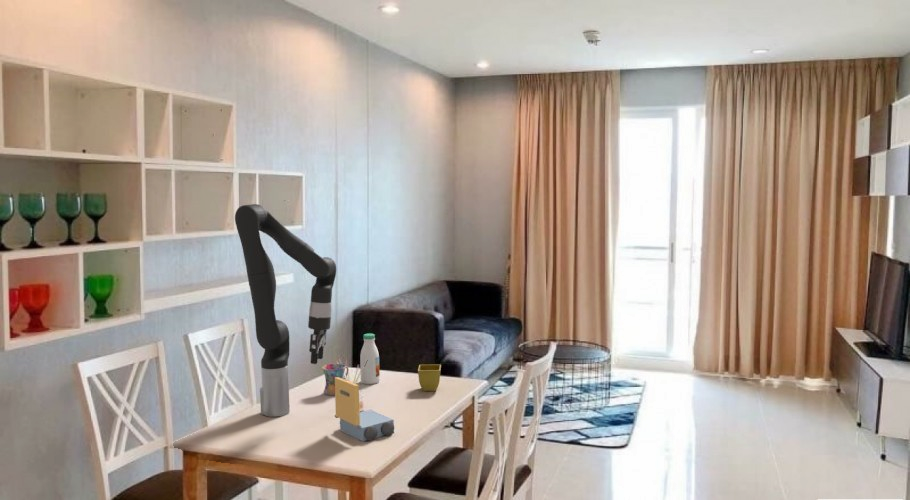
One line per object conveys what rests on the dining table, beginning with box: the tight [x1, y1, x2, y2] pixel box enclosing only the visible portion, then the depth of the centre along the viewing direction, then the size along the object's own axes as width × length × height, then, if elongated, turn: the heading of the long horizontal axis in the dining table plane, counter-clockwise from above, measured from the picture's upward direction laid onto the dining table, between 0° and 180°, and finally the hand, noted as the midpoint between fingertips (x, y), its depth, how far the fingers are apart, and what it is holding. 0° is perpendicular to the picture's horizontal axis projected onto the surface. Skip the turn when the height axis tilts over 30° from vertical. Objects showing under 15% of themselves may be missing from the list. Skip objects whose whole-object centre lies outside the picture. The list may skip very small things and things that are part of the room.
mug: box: [321, 363, 349, 396], centre depth 284 cm, size 12×9×11 cm
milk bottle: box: [359, 333, 381, 385], centre depth 297 cm, size 8×8×20 cm
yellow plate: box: [334, 377, 361, 429], centre depth 234 cm, size 2×15×14 cm, turn 39°
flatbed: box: [339, 409, 395, 442], centre depth 239 cm, size 12×16×4 cm
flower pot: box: [417, 364, 442, 392], centre depth 286 cm, size 9×9×9 cm
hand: (316, 361), depth 251 cm, fingers open, 8 cm apart
